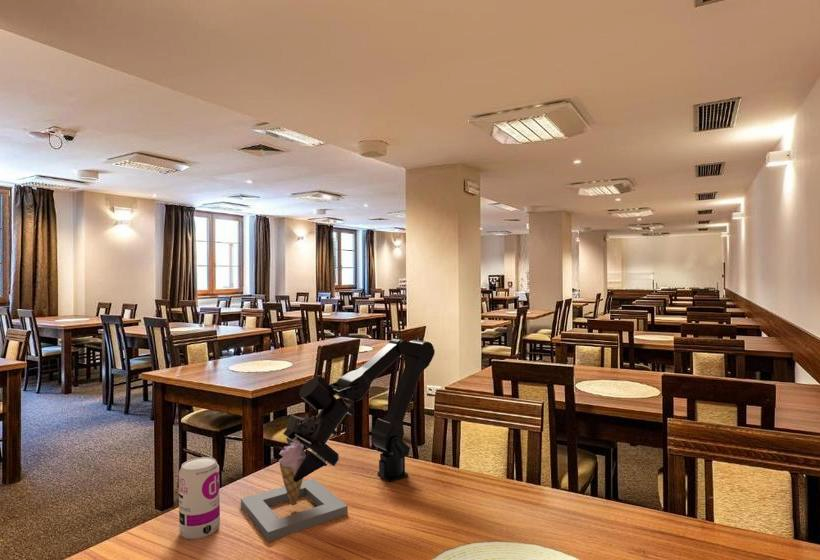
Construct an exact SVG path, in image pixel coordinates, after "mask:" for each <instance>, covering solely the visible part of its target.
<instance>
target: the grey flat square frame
mask: <svg viewBox="0 0 820 560" xmlns="http://www.w3.org/2000/svg"><path fill="white" fill-rule="evenodd" d="M301 497H306V498H308V500H310V501H311V502H312V503H313V504H314V505H315V506H314V507H312V508H308V509H304V510H303V511H302V510H301V511H300V512H299V511H298V512H296V513H292V514H289V515H286V516H283V517H280V518H279V516H278V515H276V513H275V512H274V511H273V510H272V509H271V507H272V506H276V505H279V504H282V503H284V502H285V503H286V502H287V501H289V498H288V494H287V491H286V488H285V485H284V486H281V487H278V488H274V489H271V490H266V491H263V492H260V493H256V494H252V495H248V496H246V497H242V498H240V507H241V509H242V511H243V512H244V513H245V514H246V515H247V516H248V518H249V519H250V520H251V522H252V523H253V525H254V526H255V527H256V528H257V529H258V531H259V532H260V533H261V535H262V536H263V537H264V538H265V540H266V541H267V542H271V541H274V540H277V539H280V538H283V537H285V536H288V535H292V534H294V533H297V532H300V531H304V530H306V529H309V528H312V527H316V526H317V525H321V524H323V523H327V522H329V521H332V520H335V519H339V518H341V517H344V516H348V514H349V513H348V509H349V508H348V505H347V504H346V503H345V502H344V501H342V500H341V499H340V498H338V497H337V496H336V495H334V494H333V493H332V492H331V491H330V490H329V489H327V488H326V487H324V485H322V484H321V483H320V482H318V480H315V478H310V479H306V480H302V484H301V488H300V492H299V496H298V499H299V498H301ZM289 502H290V501H289Z"/></svg>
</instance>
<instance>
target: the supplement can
mask: <svg viewBox="0 0 820 560" xmlns="http://www.w3.org/2000/svg"><path fill="white" fill-rule="evenodd" d="M220 502H221V501H220V465H219V464H218V461H217V459H215V458H214V457H209V456H202V457H196V458H192V459H189V460H187V461H185V462H183V463H182V464H181V467H180V469H179V471H178V515H179V516H178V517H179V534H180V535H181V536H183V537H184V538H185V539H186V540H198V539H203V538H206V537H209V536H211V535H213V534H214V533H215V532H216V531H217V530H218V529H219V527H220V526H221V516H220V515H221V511H220V510H221V509H220V508H221V506H220Z"/></svg>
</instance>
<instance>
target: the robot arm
mask: <svg viewBox="0 0 820 560" xmlns="http://www.w3.org/2000/svg"><path fill="white" fill-rule="evenodd" d="M434 348H435V347H434V345H433V344H432V343H431V342H430V341H425V340H419V339H411V340H410V341H406V340H404V339H400V338H391V339H390V340H389V341H388V343H387V344H386V345H385V346H383V347H382V348H380V350H379V351H377V353H376V354H374V355H373V356H372V357H371V358H369V360H367V361H366V362H365V363H364V364H363V365H362V366H360V367H359V368H357V369H355V370H351V371H349V372H347V373H345V374H344V375H342V376H340V377H339V378H338V380H336V381H334V382H332V383H328V382H327V380H326V379H325V378H324V377H323V376H322V375H318V374H316V375H315V376H314V378H311V379H309V380H308V381H307V382H306V383H304V384H303V385H302V386H301V388H300V390H299V393H298V394H299V395H298V396H299V397H300V398H301V399H302V400H303V401H305V402H306V403H307V404H308V405H309V406H311V407H312V408H313V409H314V410H315V411H319V413H318V414H317V415H316V416H315V415H312V416H311V417H309V416H305V417H300V416H297V415H294V414H290V416H289V420H288V421H287V424H286V429H285V430H284V431H283V434H282V435H284V436H286V441H287V446H291V445H290V443H291V442H293V443H295V441H296V440H298V441H299V442H300V446H303V450H304V449H305V450H304V452H305V459H304V461H303V463H302V464H301V466H300V468H299V469H298V471H297V473H296V474H295V476H294V478H293V480H294V481H295V482H298V481H299V480H301V479H304V478H305V477H308V476H309V475H310V474H312V473H314V472H316V471H317V470H319V469H322V468H323V467H326V466H328V464H329V465H331V466H333V467H335V466H336V465H337V463H338V461H340V459H339V455H340V454H339V453H338V452H336V451H335V450H334V449H333V448H332V447H331V446H329V444H327V442H328V441H329V440H330V438H331V437H332V436H336V435H337V434H338V431H337V430H336V429H337V428H338V426H339V425H340V424H341V422H342V421H343V419H344V418H345V416H346V415H347V414H348V415H350V416H352V417H354V416H355V414H356V413H355V409H354V407H355V406H354V404H352V403H349V402H348V403H347V402H346V401H345V400H347V401H350V402H357V403H358V402H359V401H360V400H362V399H363V398H364V397H365V395H366V394H367V393H368V391H370V388H371V385H372V383H373V381H374V380H375V379H376V378H378V376H380V374H382V373H383V372H385V370H387V368H389V367H390V366H391V365H392V364H394V362H395V361H396V360H397V359H398V358H400V356H402V355H403V363H404V364H403V365H404V369H403V371H402V373H401V375H400V378H399V381H398V384H397V387H396V389H395V392H394V394H393V396H392V398H391V399H392V400H391V402H390V405H389V408H388V409H387V412H386V414H385V416H383V417H382V419H381V418H376V420H375V422H374V427H372V430H370V432H371V439H370V440H371V442H372V444H373V446H375V448H376V452H379V453H380V454H379V457H380V458H379V460H378V472H377V475H378V476H379V477H381V478H383V479H384V480H386V481H387V482H394V481H397V480H399V479H402V478H407V477H408V476H409V473H408V472H406V457H407V456H409V455H410V450H411V447H410V446H409V445H408V444H407V443H406V442H404V440H403V439H404V435H405V429H404V420H405V417H406V414H407V412H408V408H409V406H410V403H411V401H412V398H413V394H414V393H415V389H416V386H417V384H418V382H419V379H420V376H421V374H422V373H423V372H424V371H425V370H426V369H427V368H428V367H429V366H430V365H431V364H430V363H431V362H432V361H433V359H434V356H435V349H434ZM336 396H338V397H340V398H336ZM344 399H345V400H344ZM307 448H308V449H307ZM310 450H311V451H310Z"/></svg>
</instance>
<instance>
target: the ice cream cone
mask: <svg viewBox="0 0 820 560" xmlns="http://www.w3.org/2000/svg"><path fill="white" fill-rule="evenodd" d="M290 445H291V446H288V445H287V446H284V447H283V449H281V450H280V452H279V453H278V454H279V456H281V458H280V459H279V460H278V463H279V467H280V472H281V476H282V477H281V478H282V481H283V485H284V486H285V488H286V491H287V494H288V498H289V503H290V505H291V506H295V505H297V503H298V499H299V498H298V496H299V492H300V488H301V484H302V481H304V480H303V479H304V478H303V479H301V480H299V481H298V482H295V481H294V480H293V478H294V476H295V474H296V473H297V471H298V469H299V468H300V466H301V464H302V463H303V461H304V459H305V452H304V451H305V450H304V449H303V446H300V442H299V441H298V440H296V441H295V443H293V442H291V443H290Z"/></svg>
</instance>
